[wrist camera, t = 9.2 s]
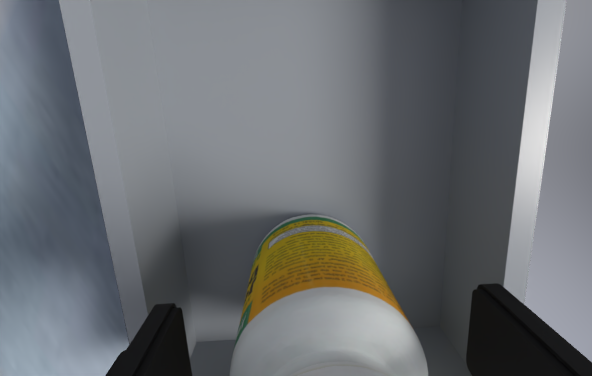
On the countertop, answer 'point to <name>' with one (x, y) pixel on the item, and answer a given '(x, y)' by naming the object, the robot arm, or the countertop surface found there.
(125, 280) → the tote
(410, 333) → the supplement bottle
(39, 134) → the countertop surface
